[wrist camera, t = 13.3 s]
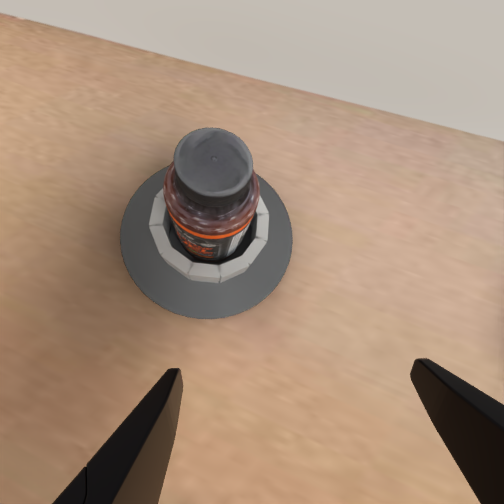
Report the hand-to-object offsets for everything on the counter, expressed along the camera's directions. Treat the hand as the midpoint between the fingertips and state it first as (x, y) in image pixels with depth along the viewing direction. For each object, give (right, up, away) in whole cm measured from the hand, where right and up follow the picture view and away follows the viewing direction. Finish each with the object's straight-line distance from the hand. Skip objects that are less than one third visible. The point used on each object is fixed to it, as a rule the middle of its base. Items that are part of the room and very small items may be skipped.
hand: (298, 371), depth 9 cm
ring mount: (-6, +6, +15) cm, 17 cm away
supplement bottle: (-6, +6, +14) cm, 16 cm away
